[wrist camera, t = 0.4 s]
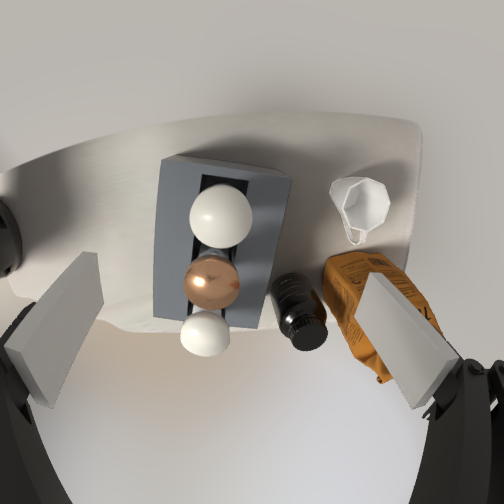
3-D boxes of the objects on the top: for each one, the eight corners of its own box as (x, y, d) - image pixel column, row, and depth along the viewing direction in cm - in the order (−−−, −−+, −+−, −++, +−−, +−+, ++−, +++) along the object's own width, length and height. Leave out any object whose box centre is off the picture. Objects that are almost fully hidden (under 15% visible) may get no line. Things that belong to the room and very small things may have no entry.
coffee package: (377, 297, 46) (441, 382, 26) (315, 303, 45) (366, 406, 25) (389, 248, 42) (474, 323, 22) (324, 249, 41) (396, 344, 21)
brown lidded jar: (190, 266, 33) (181, 306, 25) (194, 226, 31) (185, 257, 23) (232, 272, 34) (235, 312, 26) (239, 232, 32) (244, 265, 24)
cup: (362, 166, 36) (391, 175, 29) (363, 230, 41) (388, 250, 33) (318, 170, 36) (340, 179, 29) (322, 236, 40) (342, 259, 33)
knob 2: (187, 309, 36) (179, 353, 28) (189, 275, 34) (181, 317, 26) (225, 314, 36) (226, 358, 29) (230, 281, 34) (233, 323, 27)
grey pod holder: (163, 286, 41) (153, 316, 34) (174, 155, 34) (161, 159, 26) (251, 296, 43) (257, 328, 36) (278, 170, 36) (292, 179, 29)
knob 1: (196, 216, 31) (186, 244, 23) (202, 171, 29) (193, 183, 21) (241, 222, 32) (246, 252, 24) (249, 178, 30) (257, 193, 22)
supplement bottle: (316, 296, 45) (340, 343, 34) (279, 313, 45) (294, 364, 34) (302, 263, 42) (327, 308, 31) (262, 282, 43) (275, 332, 32)
